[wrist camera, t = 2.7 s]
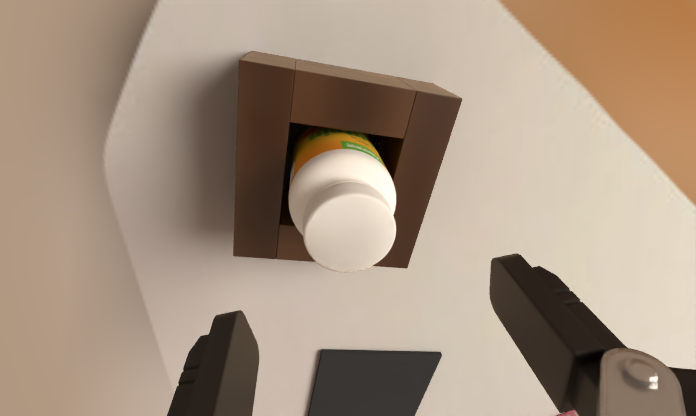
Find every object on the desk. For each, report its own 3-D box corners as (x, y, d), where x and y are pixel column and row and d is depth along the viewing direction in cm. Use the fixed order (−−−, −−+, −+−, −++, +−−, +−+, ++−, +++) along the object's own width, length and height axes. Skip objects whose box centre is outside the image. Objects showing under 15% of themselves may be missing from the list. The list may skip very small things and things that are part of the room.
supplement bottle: (376, 115, 22) (423, 178, 14) (368, 191, 25) (404, 283, 16) (290, 113, 21) (284, 177, 13) (292, 191, 24) (287, 287, 15)
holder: (244, 217, 24) (233, 256, 21) (251, 50, 19) (238, 59, 15) (391, 231, 26) (407, 268, 23) (433, 83, 21) (462, 98, 17)
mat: (306, 423, 38) (306, 427, 37) (321, 349, 32) (321, 352, 32) (409, 421, 40) (410, 425, 40) (440, 351, 34) (442, 355, 34)
